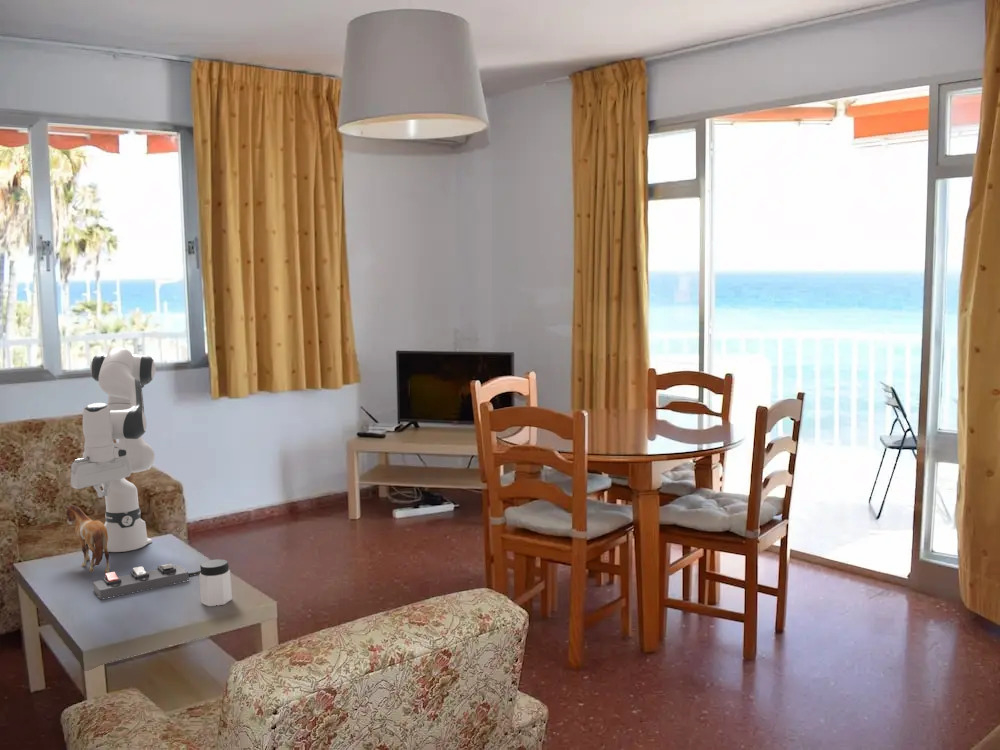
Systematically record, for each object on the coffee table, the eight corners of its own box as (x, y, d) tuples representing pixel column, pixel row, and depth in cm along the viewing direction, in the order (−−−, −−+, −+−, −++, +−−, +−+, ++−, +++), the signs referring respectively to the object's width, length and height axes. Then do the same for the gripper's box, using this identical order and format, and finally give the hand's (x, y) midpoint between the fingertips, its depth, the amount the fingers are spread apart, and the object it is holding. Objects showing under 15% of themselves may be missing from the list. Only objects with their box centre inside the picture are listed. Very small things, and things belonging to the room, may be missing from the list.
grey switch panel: (93, 591, 294) (92, 579, 293) (199, 569, 313) (198, 558, 312) (100, 599, 286) (99, 587, 285) (208, 576, 305) (208, 565, 304)
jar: (236, 601, 281) (234, 562, 280) (212, 608, 275) (209, 569, 274) (221, 594, 287) (218, 557, 286) (197, 601, 281) (194, 563, 280)
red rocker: (105, 577, 295) (105, 573, 294) (114, 575, 296) (114, 571, 296) (109, 584, 291) (109, 580, 290) (118, 583, 293) (118, 578, 292)
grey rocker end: (160, 570, 304) (160, 565, 304) (169, 568, 306) (168, 563, 306) (164, 570, 300) (163, 565, 300) (173, 568, 302) (172, 564, 302)
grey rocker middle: (133, 572, 300) (133, 567, 299) (142, 570, 301) (142, 565, 301) (137, 579, 296) (137, 574, 295) (146, 577, 297) (146, 572, 297)
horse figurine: (68, 561, 327) (63, 504, 324) (91, 556, 332) (86, 500, 329) (94, 582, 303) (89, 520, 300) (118, 576, 308) (113, 516, 305)
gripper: (77, 461, 286) (80, 504, 288) (132, 449, 304) (135, 490, 305) (64, 459, 289) (68, 502, 291) (120, 447, 307) (123, 488, 308)
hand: (103, 496), depth 298 cm, fingers closed
